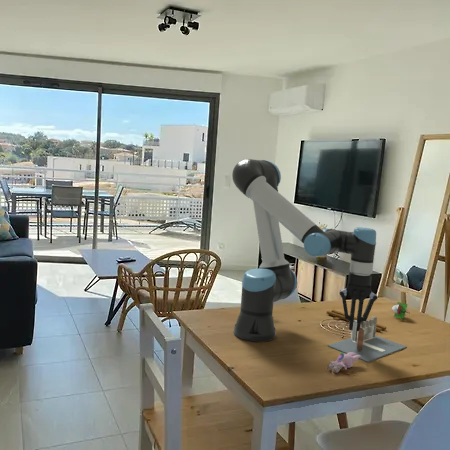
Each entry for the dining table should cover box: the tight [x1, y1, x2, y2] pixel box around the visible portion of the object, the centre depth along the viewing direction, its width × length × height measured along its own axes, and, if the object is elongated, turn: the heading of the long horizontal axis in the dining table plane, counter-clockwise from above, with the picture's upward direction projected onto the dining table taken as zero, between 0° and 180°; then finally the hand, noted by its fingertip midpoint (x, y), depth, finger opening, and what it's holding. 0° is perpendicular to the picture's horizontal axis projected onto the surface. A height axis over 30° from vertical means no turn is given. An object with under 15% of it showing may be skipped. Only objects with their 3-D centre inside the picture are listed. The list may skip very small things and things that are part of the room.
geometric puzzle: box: [391, 301, 409, 320], centre depth 205 cm, size 7×7×8 cm
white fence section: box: [355, 315, 378, 342], centre depth 173 cm, size 12×2×9 cm, turn 130°
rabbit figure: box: [324, 351, 361, 375], centre depth 147 cm, size 6×6×15 cm
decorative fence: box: [326, 309, 387, 333], centre depth 194 cm, size 25×2×10 cm
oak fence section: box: [356, 324, 364, 350], centre depth 165 cm, size 9×2×7 cm, turn 167°
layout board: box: [327, 334, 408, 363], centre depth 167 cm, size 25×16×1 cm, turn 130°
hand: (353, 339), depth 164 cm, fingers closed
